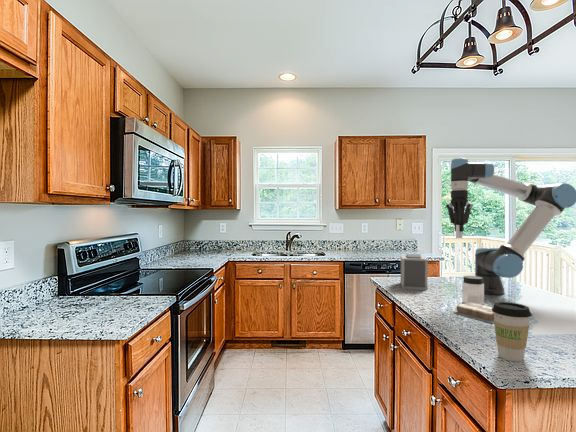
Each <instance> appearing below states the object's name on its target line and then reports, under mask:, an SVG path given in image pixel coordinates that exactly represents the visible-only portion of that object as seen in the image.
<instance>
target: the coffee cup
mask: <svg viewBox="0 0 576 432" xmlns="http://www.w3.org/2000/svg"><path fill="white" fill-rule="evenodd" d="M492 307H493V308H492V311H493V312H494V332H495V340H496V344H497V345H496V346H497V354H498V356H499V358H501V359H503V360H505V361H509V362H516V363H517V362H523V361H524V358H525V352H526V348H527V342H528V336H529V329H530V317H532V315H533V314H532V312H531V311H530V307H529V306H527V305H524V304H520V303H516V302H510V301H509V302H507V301H499V302H498V301H497V302H494V305H493V306H492Z"/></svg>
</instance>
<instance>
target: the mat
mask: <svg viewBox="0 0 576 432" xmlns="http://www.w3.org/2000/svg"><path fill="white" fill-rule="evenodd" d="M453 314H455V315H459V316H462V317H466V318H469V319H473V320H477V321H481V322H484V323H488V324H491V325H493V324H494V319H492V320H488V319H484V318H480V317H477V316H473V315H469V314H465V313H462V312H458V311H455V312H453Z"/></svg>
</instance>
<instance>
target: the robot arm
mask: <svg viewBox="0 0 576 432" xmlns="http://www.w3.org/2000/svg"><path fill="white" fill-rule="evenodd" d="M469 182H470V183H473V184H475V185H479V186H482V187H485V188H488V189H492V190H494V191H497V192H499V193H503V194H505V195H509V196H512V197H515V198H517V199H518V200H519V201H521V202H524V203H527V204H530V205H532V206H535V207H534V208H533V209H532V211H531V212H530V213H529V215H528V217H527V218H526V219H525V220H524V221H523V222H522V224H521V225H520V226H519V228H518V229H517V230H516V231H515V232H514V234H513V235H512V237H511V238H510V239H509V240H508V241H507V243H506V244H501V245H500V246H499V247H484V248H482V247H481V248H476V249H475V253H474V260H475V261H474V264H475V267H474V271H475V273H474V274H475V275H474V276H478V277H482V278H483V284H484V295H494V296H495V295H503V294H505V287H504V284H503V282H502V279H501V278H506V279H507V278H508V279H512V278H515V277H517V276H519V275H520V274H521V272H522V271H523V269H524V266H523V264H524V261H525V258H526V256H525V254H526V252H527V251H528V250H529V249H530V248H531V246H532V244H534V243H535V241H536V240H537V238H538V237H539V236H540V235H541V233H542V232H543V231H544V230H545V228H546V227H547V226H548V224H549V223H550V222H551V221H552V220H553V218H554V217H556V216H560V215H561V214H562V213H563V211H564V210H565V209H568V208H571V207H573V206H575V204H576V188H575V187H574V186H572V184H569V183H566V182H559V183H552V184H542V185H541V184H540V185H539V184H531V183H529V182H527V183H522V182H519V181H516V180H513V179H509V178H507V177H505V176H502V175H498V174H495V166H494V164H493V163H492V162H486V161H485V162H469V159H468V158H466V157H459V158H458V157H457V158H453V159H452V160H451V162H450V190H451V191H450V202H449V203H448V204H446V205H445V207H446V208H447V212H448V216H449V221H450V224H454V232H455V239H463V232H464V229H465V228H464V226H465V225H466V224H468V223H469V219H470V215H471V211H472V208H473V207H474V204H472V203H470V202H469V200H468V197H469V192H468V189H469V188H468V187H469Z"/></svg>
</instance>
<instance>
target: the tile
mask: <svg viewBox="0 0 576 432" xmlns="http://www.w3.org/2000/svg"><path fill="white" fill-rule="evenodd" d="M493 307H494V306H488V305H486V304H485V305H484V304H482V305H481V304H476V303H472V302H470V303H461V304H457V305H456V312H462V313H465V314H469V315H473V316H477V317H480V318H484V319H488V320H492V319H494V312H493V311H492V308H493Z"/></svg>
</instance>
